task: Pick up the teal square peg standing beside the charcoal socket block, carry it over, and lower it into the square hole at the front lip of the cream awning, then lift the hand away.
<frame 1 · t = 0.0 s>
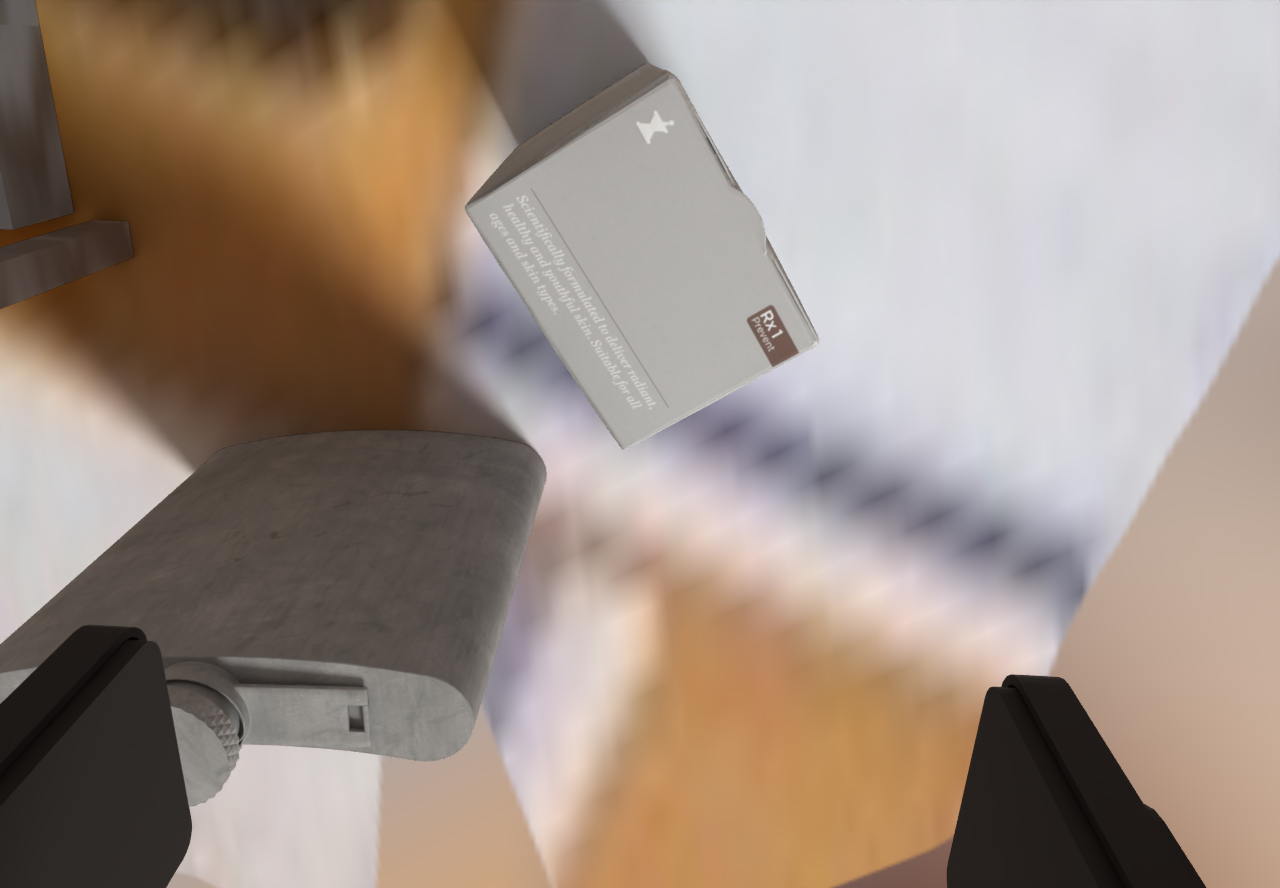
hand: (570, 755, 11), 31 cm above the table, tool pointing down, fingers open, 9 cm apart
skincare box: (646, 191, 39), on the table
hip flask: (376, 464, 44), on the table
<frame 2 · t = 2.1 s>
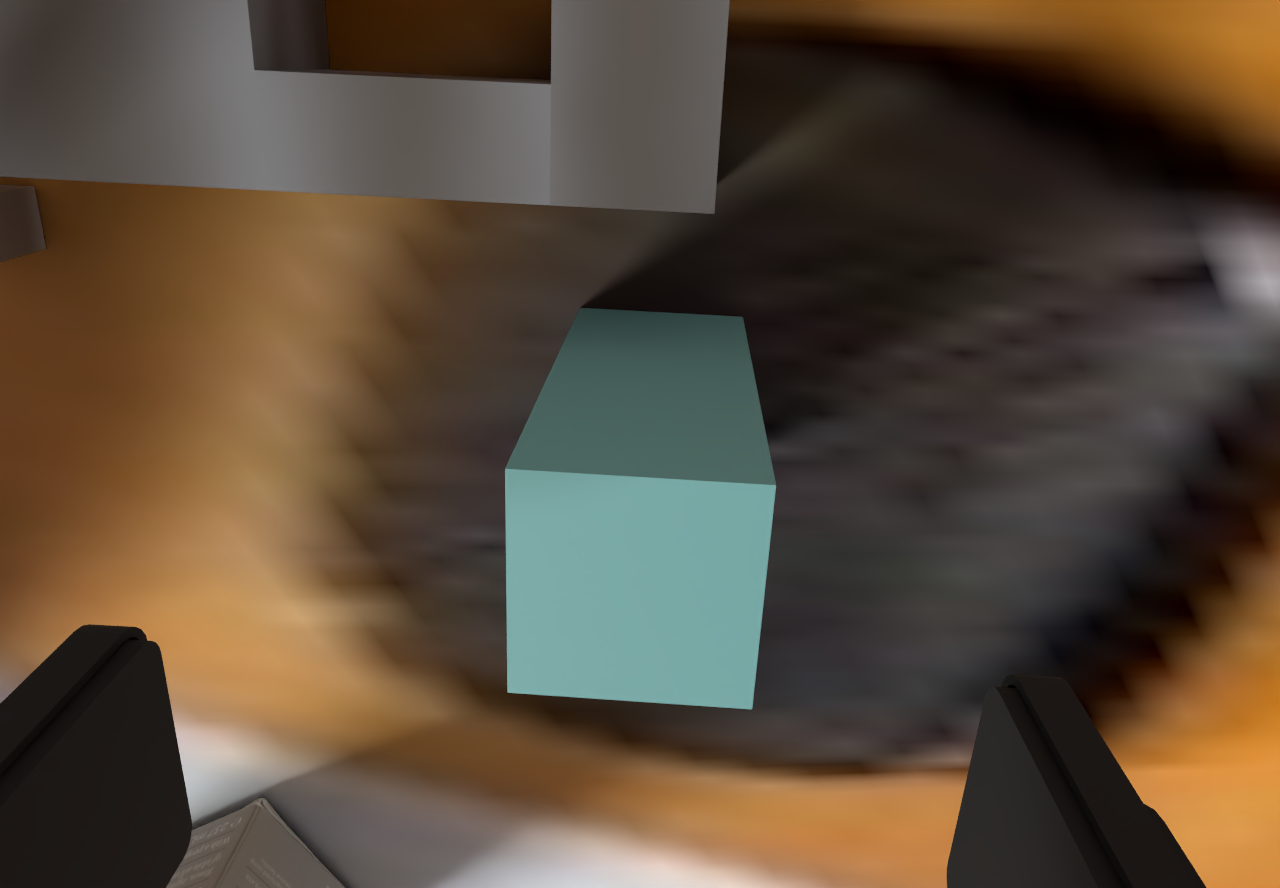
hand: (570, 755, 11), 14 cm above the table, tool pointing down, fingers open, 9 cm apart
peg: (656, 389, 24), on the table
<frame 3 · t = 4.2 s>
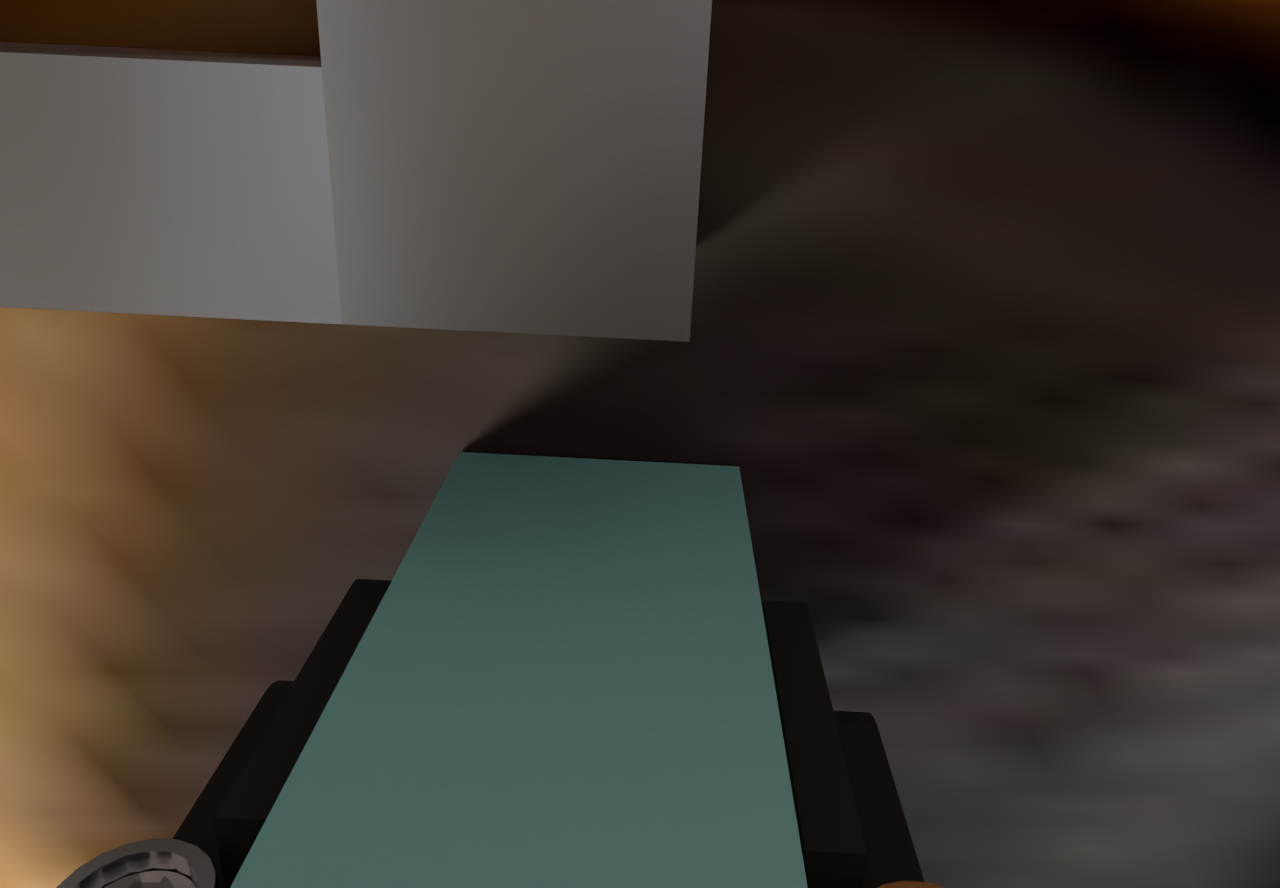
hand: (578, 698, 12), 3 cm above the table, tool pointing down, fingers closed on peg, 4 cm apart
peg: (595, 580, 14), on the table, touching gripper
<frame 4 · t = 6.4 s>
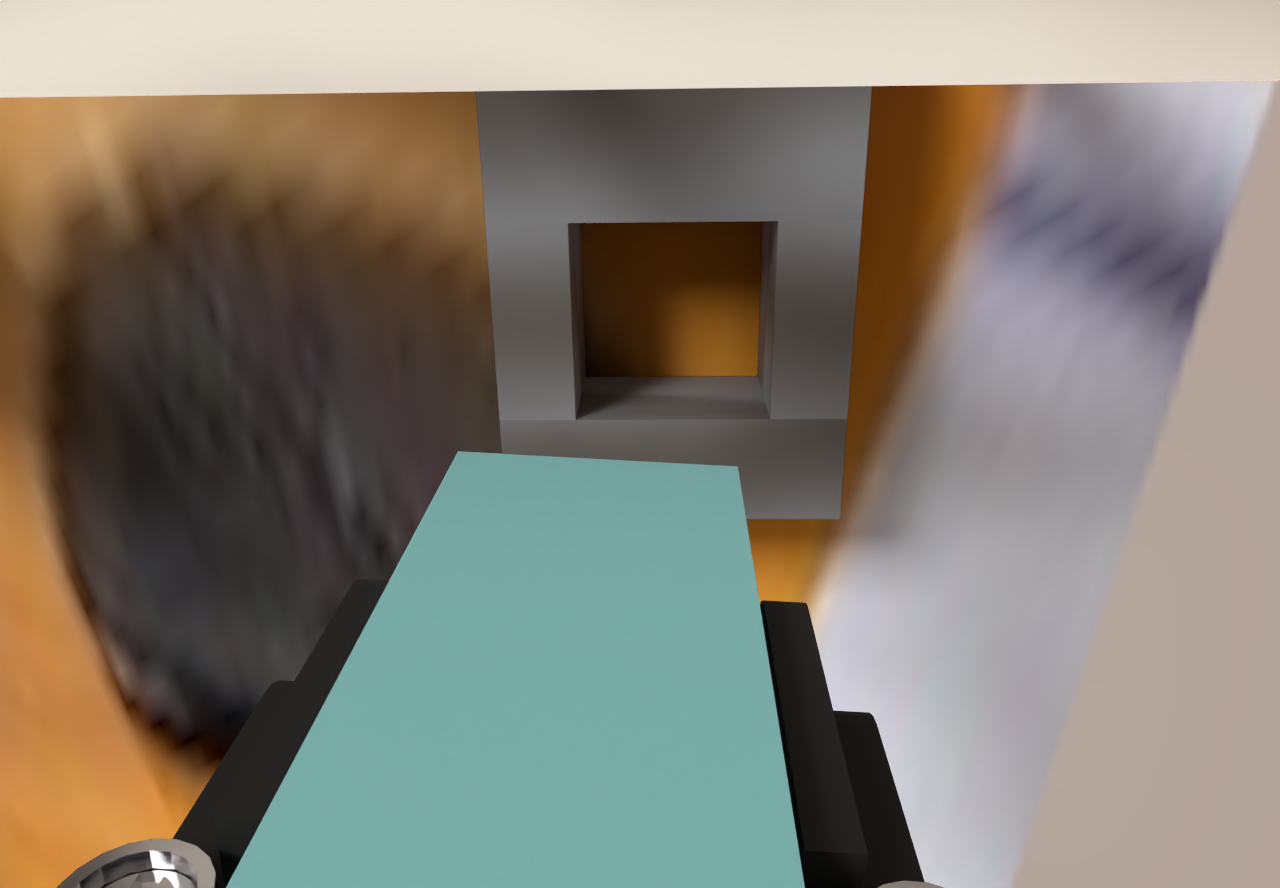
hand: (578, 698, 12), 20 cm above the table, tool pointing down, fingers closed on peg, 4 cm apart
peg: (594, 580, 14), point 17 cm above the table, touching gripper
socket stand: (671, 292, 30), on the table
when the fingers open (5 cm above the table, at t = 9.0 s): peg drops 2 cm, resting in socket stand.
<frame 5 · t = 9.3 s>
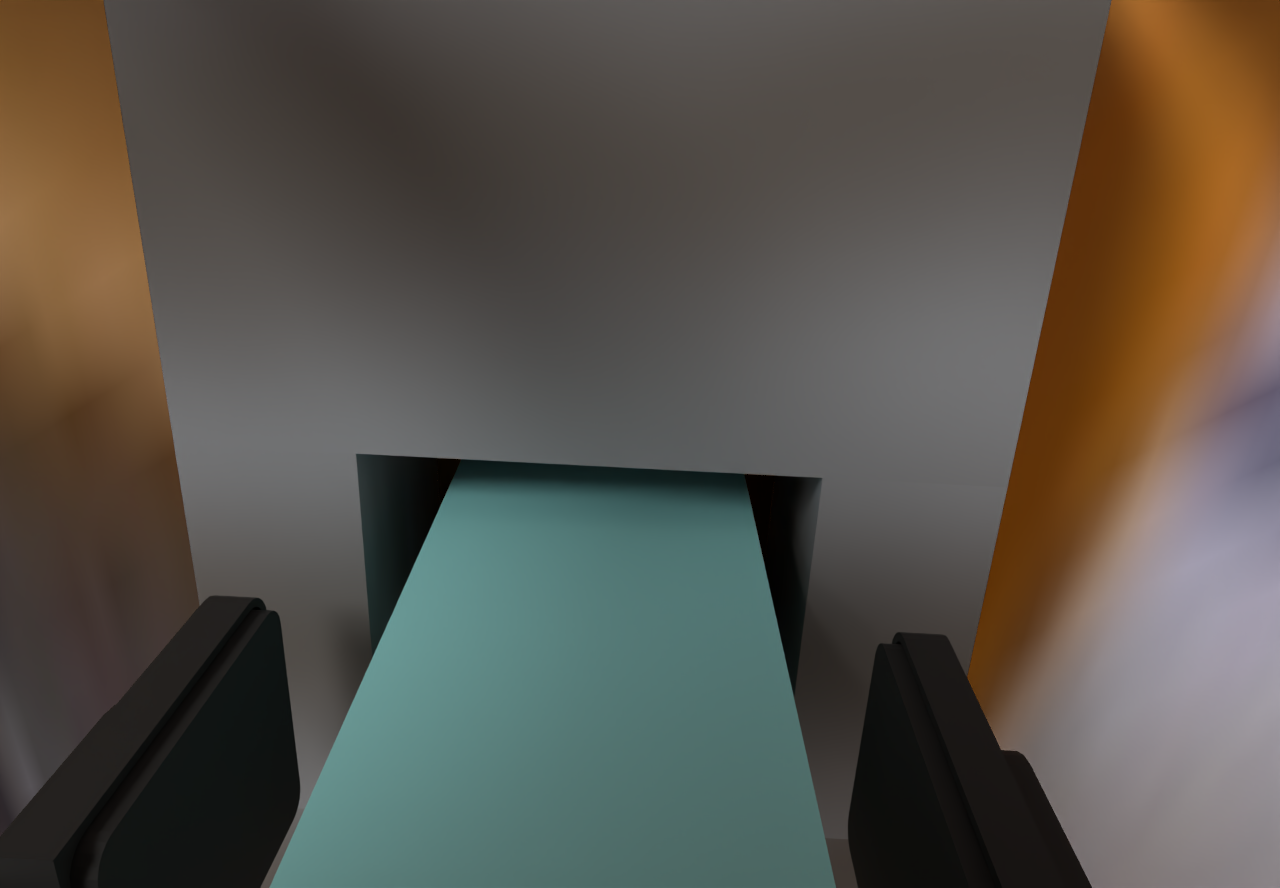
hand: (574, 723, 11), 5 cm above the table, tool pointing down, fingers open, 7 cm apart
peg: (606, 521, 16), resting in socket stand
socket stand: (603, 520, 16), on the table
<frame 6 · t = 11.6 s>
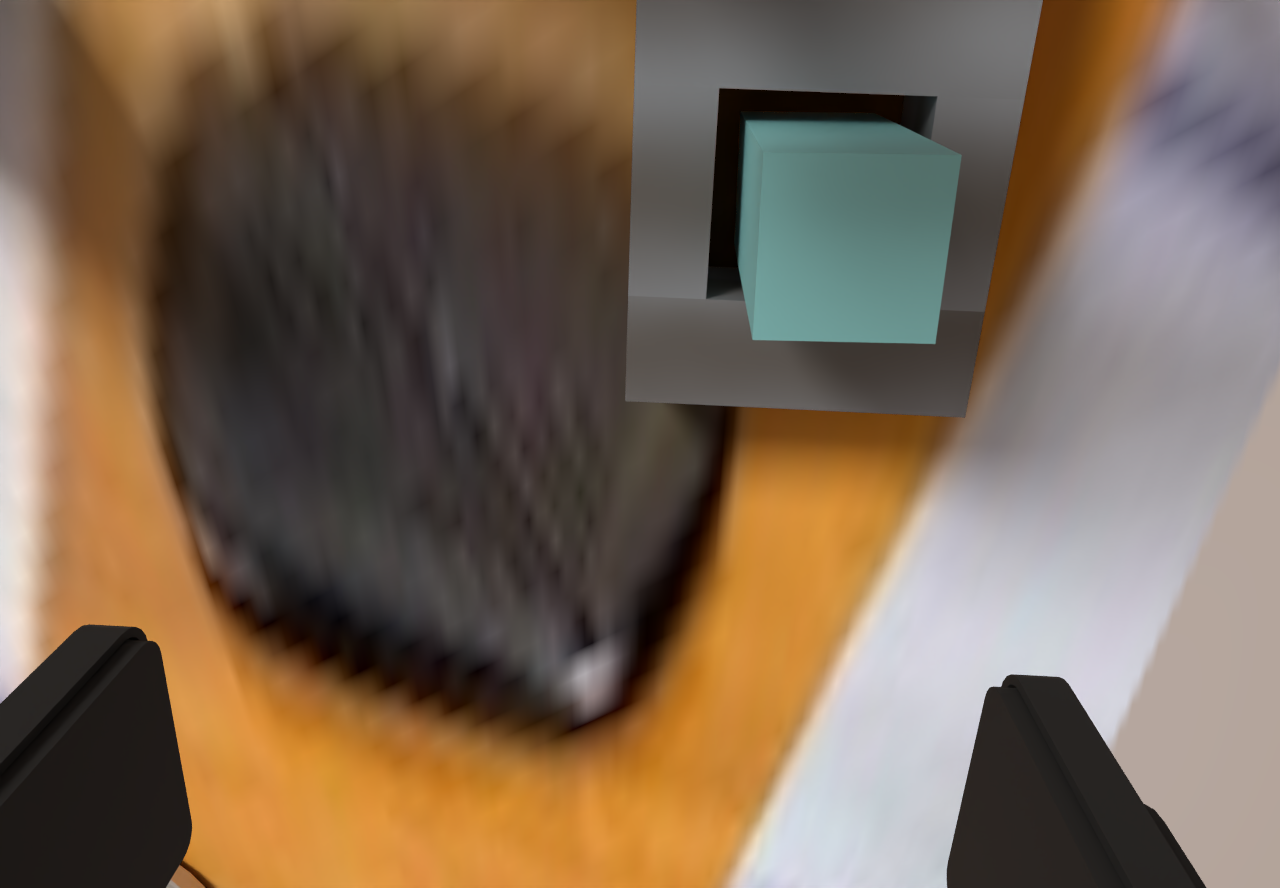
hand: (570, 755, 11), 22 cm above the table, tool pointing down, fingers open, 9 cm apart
peg: (802, 180, 29), resting in socket stand
socket stand: (800, 180, 29), on the table
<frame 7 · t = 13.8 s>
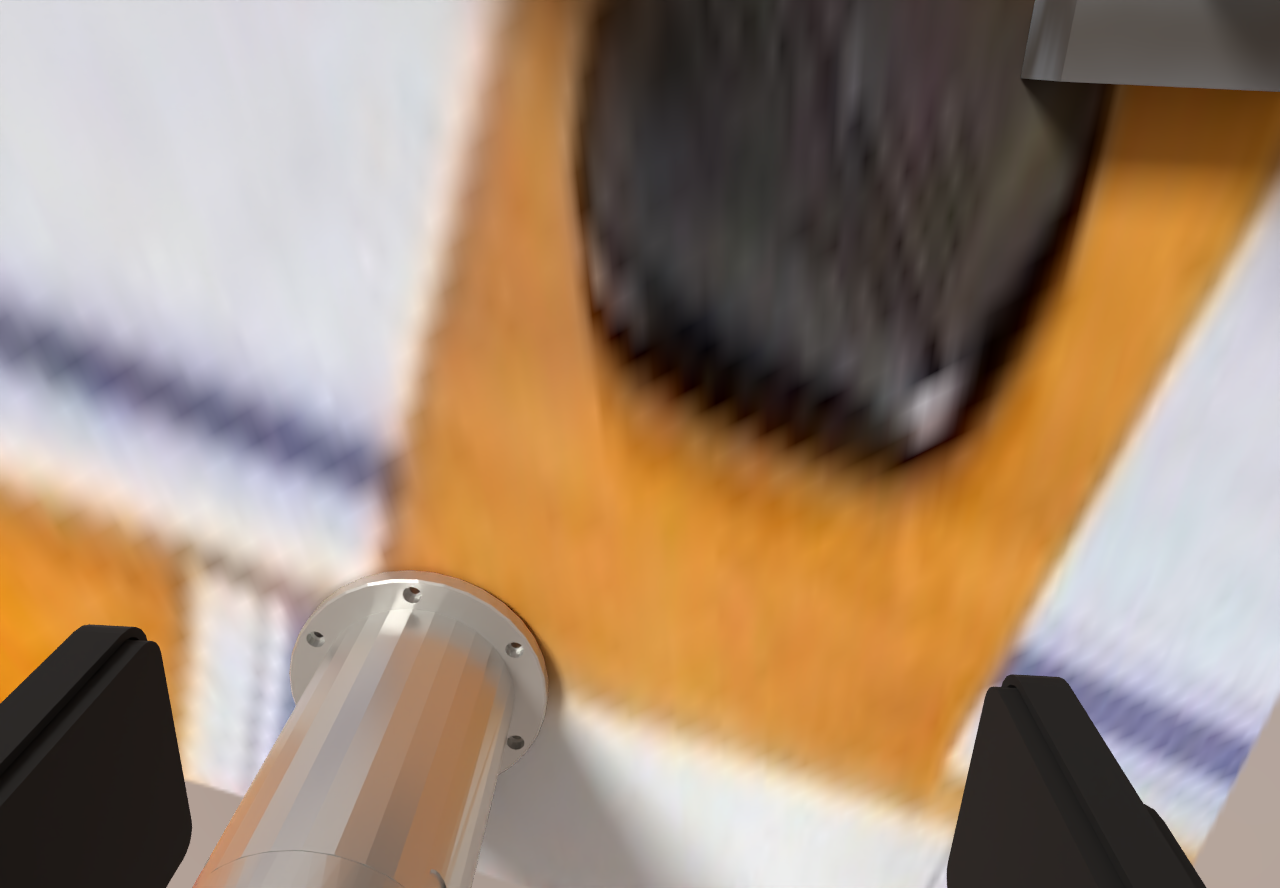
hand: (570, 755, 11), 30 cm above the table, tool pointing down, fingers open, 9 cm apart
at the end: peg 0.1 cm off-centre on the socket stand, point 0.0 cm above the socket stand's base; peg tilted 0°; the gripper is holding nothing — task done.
